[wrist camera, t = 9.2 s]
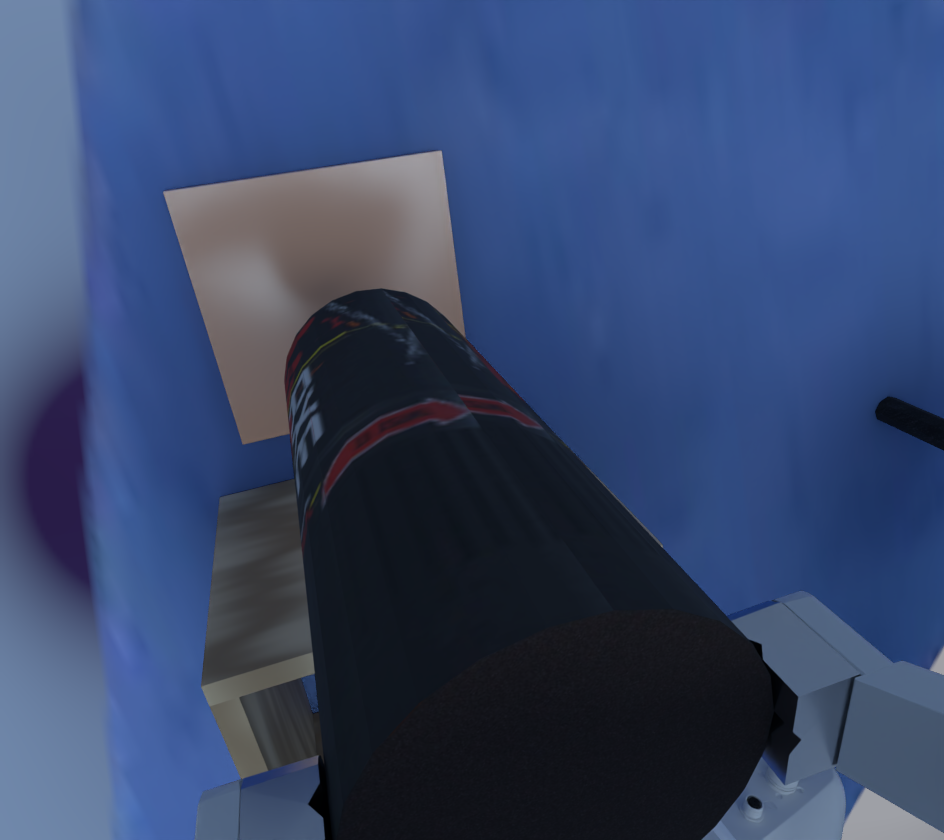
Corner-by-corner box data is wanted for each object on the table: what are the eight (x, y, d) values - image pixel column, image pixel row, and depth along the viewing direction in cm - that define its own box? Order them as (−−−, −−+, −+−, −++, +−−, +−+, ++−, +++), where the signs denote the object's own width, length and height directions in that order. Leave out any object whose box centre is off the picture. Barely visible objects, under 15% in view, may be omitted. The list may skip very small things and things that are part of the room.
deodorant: (280, 286, 19) (333, 651, 6) (472, 290, 21) (830, 579, 8) (286, 463, 21) (333, 998, 8) (458, 453, 23) (714, 883, 10)
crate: (539, 417, 37) (662, 544, 26) (557, 644, 45) (657, 816, 34) (219, 497, 34) (200, 686, 22) (300, 729, 42) (317, 955, 30)
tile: (437, 150, 30) (441, 150, 29) (468, 385, 35) (472, 391, 34) (165, 190, 27) (162, 191, 27) (243, 437, 33) (242, 444, 32)
